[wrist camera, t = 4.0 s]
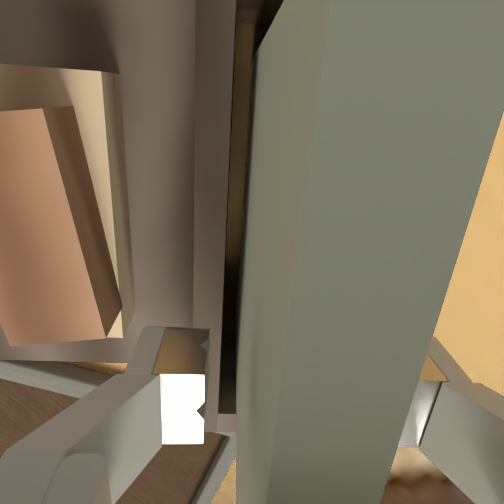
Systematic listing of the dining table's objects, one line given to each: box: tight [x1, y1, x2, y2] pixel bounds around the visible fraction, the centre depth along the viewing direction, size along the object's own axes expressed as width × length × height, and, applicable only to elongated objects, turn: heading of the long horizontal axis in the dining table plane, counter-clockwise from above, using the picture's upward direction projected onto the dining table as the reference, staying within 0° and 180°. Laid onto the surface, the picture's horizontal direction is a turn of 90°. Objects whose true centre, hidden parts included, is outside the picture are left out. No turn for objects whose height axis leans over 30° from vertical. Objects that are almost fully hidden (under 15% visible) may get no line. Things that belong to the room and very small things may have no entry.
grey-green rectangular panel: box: [236, 0, 504, 504], centre depth 13 cm, size 2×14×16 cm, turn 176°
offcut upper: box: [0, 106, 123, 346], centre depth 15 cm, size 4×9×2 cm, turn 4°
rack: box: [0, 0, 284, 432], centre depth 17 cm, size 18×19×6 cm
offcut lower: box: [0, 64, 135, 338], centre depth 17 cm, size 5×12×2 cm, turn 176°
